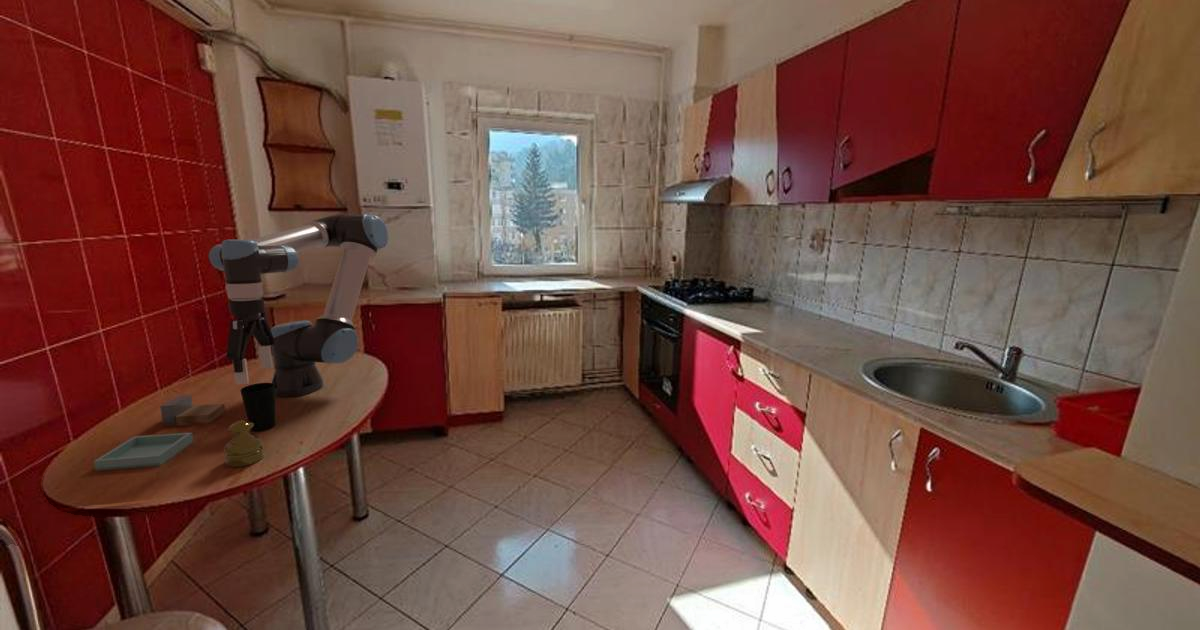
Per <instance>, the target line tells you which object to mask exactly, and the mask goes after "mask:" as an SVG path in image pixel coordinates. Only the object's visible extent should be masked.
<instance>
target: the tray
mask: <svg viewBox="0 0 1200 630" xmlns="http://www.w3.org/2000/svg"><path fill="white" fill-rule="evenodd" d="M193 442H194V436H193V432H181V433H180V432H179V433H167V434H166V433H164V434H152V435H137V436H135V435H134V436H133V437H131V438H129V439H128V440H126V441H124V442H123V443H121V444H119V445H118V446H116V447H115V448H113V449H111V450H110V451H108V452H107V453H105V454H103V455H101V456H99V457H98V458H96V459H95V460H93V466H94V468H95V472H101V471H113V470H125V469H135V468H137V469H138V468H150V467H151V468H152V467H161V466H162V465H164V464H165V463H166V462H167V461H169V460H171V459H172V458H173V457H174V456H176V455H178V453H180V452H181V451H183V450H184V449H186V448H187V447H188V446H189V445H191V444H192V443H193Z"/></svg>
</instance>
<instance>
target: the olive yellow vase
mask: <svg viewBox="0 0 1200 630" xmlns="http://www.w3.org/2000/svg"><path fill="white" fill-rule="evenodd" d="M253 426H254V423H253V422H250V421H248V420H243V419H242V420H237V421H236V422H234V423H232V424H231V425H229V426H228V427H227V431H228V432H229V433H233V434H234V436H233V438H232V439H231V440H230V441H229V442H227V443H226V444H225V446H224V447H223V451H224V453H225V456H224V458H225V463H226V466H228V467H231V468H241V467H246V466H249V465H253V464H256V463H257V462H259V461H260V460H262V459H263V458H264V456H265V454H264V446H262V445H263V439H262V438H261V437H260V436H256V435H254V434H251V433H250V431H251V428H252V427H253Z"/></svg>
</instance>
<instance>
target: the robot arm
mask: <svg viewBox="0 0 1200 630" xmlns="http://www.w3.org/2000/svg"><path fill="white" fill-rule="evenodd" d="M388 241H389V231H388V228H387V226H386V224H385V222H384V221H383V219H382V218H380V217H379V216H377V215H373V214H372V215H371V214H366V213H365V214H342V213H341V214H333V215H329V216H325V217H321V218H318V219H313V220H310V221H307V222H306V223H304V225H303V226H300V227H295V228H290V229H287V230H284V231H280V232H276V233H272V234H269V235H263V236H259V237H256V238H253V239H225V240H222V241H221V244H216V245H214V246H213V247H212V248H211V249H210V250H209V253H208V259H209V262H210V264H211V265H212V266H213V267H214V268H215V269H217V270H219V271H224V278H225V290H226V295H227V298H228V299H229V300H228V301H227V302H228V303H227V305H228V311H229V314H230V315H233V316H236V320H230V321H229V323H228V324H229V325H228V326H229V333H228V339H227V347H226V348H227V349H226V357H225V359H226V361H232V366H233V368H232V369H233V374H234V375H233V376H234V382H235V385H247V384H248V385H249V383H250V380H249V372H248V364H247V358H245V355H246V350H247V348H248V343H249V339H250V337H252V336H253V337H254V338H255V339H256V341H257V342H258V344H259V346H257V347H258V356H259V364H260V369H273V368H274V372H273V375H272V379H271V382H270V383H273V384H274V385H275V397H279V398H281V397H282V398H290V397H299V396H302V395H303V396H304V395H308V394H312V393H314V392H317V391H319V390H321V389H322V388H323V387H324V385H325V384H324V378H323V377H322V374H321V372H320V370H319V369H318V366H317V364H316V363H322V364H323V363H324V364H329V365H334V364H343V363H346V362H347V361H349V360H351V359H352V358H353V356H355V354H356V352H357V350H358V348H359V345H360V344H359V343H360V342H359V335H358V333H357V332H356V326H355V324H354V323H353V322H352V321H353V318H354V314H355V311H356V307H357V305H358V304H357V303H358V300H359V299H360V298H359V297H360V293H361V290H362V287H363V284H364V281H365V280H364V279H365V277H366V274H367V270H368V266H369V263H370V260H371V259H373V258H375V257H376V256H377V253H378V249H379V250H380V249H384V248H385V247H386V246H387V244H388ZM327 247H337V248H338V247H340V249H341V251H343V252H342V255H341V258H340V261H339V264H338V267H337V271H336V273H335V277H334V280H333V283H332V286H331V289H330V292H329V296H328V299H327V301H326V302H327V303H326V305H325V308H324V312H323V315H321V316H319V317H317V318H316V319H315V322H314V325H313V324H312V321H310V320H308V319H307V320H297V321H290V322H284V323H280V324H277V325H275V326H273V327H270V325H269V322H268V320H267V316H266V312H265V311H266V308H265V300H264V298H262V297H263V296H264V288H263V283H262V275H265V274H266V275H267V274H277V273H286V272H287V273H288V272H291V271H294V270H295V269H296V268H297V267H298V266H299V263H300V261H299V254H298V253H300V252H303V251H307V250H311V249H312V248H315V249H324V248H327ZM273 366H274V367H273Z"/></svg>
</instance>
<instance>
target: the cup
mask: <svg viewBox="0 0 1200 630" xmlns="http://www.w3.org/2000/svg"><path fill="white" fill-rule="evenodd" d="M240 393H241V399H242V402H243V405H244V409H245V413H246V417H247V421H250V422H253V423H254V426H253V427H252V428H251V429H250V431H251V432H254V433H258V432H260V433H261V432H265V431H269V430H271V429H273V428H275V426H276V396H275V385H274V384H273V383H271V382H260V383H252V384H248V385H247V386H243V387H242V388H241V389H240Z"/></svg>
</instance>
